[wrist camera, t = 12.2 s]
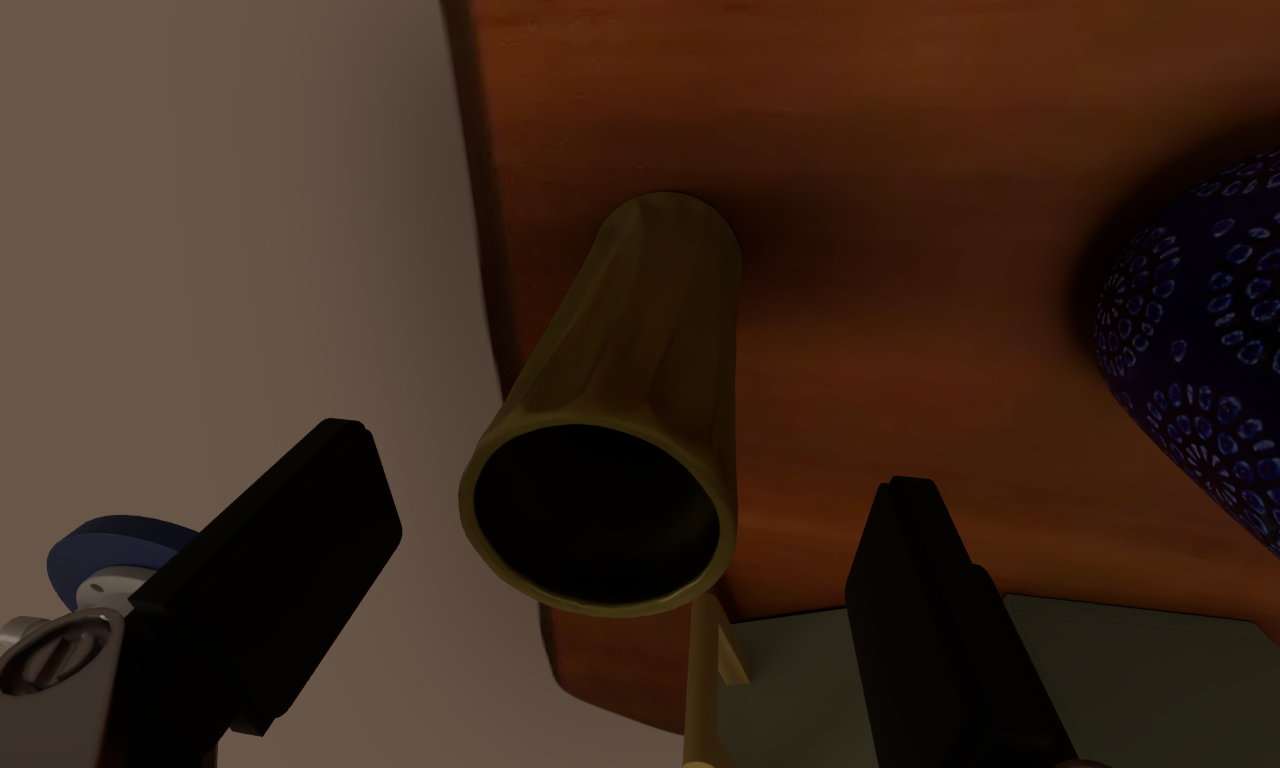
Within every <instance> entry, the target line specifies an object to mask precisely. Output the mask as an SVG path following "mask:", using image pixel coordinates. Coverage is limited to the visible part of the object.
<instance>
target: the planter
mask: <svg viewBox="0 0 1280 768" xmlns="http://www.w3.org/2000/svg"><path fill="white" fill-rule="evenodd" d="M1092 336H1093V346H1094V354H1095V359H1096V363H1097V366H1098V369H1099V371H1100V373H1101V376H1102V377H1103V379H1104V381H1105V383H1106V384H1107V386H1108V388H1109V390H1110V391H1111V393H1112V395H1113V396H1114V398H1115V399H1116V400H1117V402H1118V403H1119V404H1120V405H1121V406H1122V408H1123V409H1124V410H1125V411H1126V412H1127V413H1128V415H1129V416H1130V417H1131V418H1132V419H1133V420H1134V422H1135V423H1136V424H1137V425H1138V426H1139V427H1140V428H1141V429H1142V430H1143V431H1144V433H1145V434H1146V435H1147V436H1148V437H1149V438H1150V439H1151V440H1152V441H1153V442H1154V443H1155V444H1156V445H1157V446H1158V447H1159V448H1160V450H1161V451H1162V452H1163V453H1164V454H1165V455H1166V456H1168V457H1169V458H1170V459H1171V460H1172V461H1173V462H1174V463H1175V464H1176V465H1177V466H1178V467H1179V468H1180V469H1181V470H1182V471H1183V472H1184V473H1185V474H1186V475H1187V476H1189V477H1190V478H1191V479H1192V480H1193V481H1194V482H1195V483H1196V484H1197V485H1198V486H1199V487H1200V488H1201V489H1202V490H1203V491H1204V492H1205V493H1206V494H1207V495H1208V496H1209V497H1211V498H1212V499H1213V500H1214V501H1215V502H1216V503H1217V504H1218V505H1219V506H1220V507H1221V508H1222V509H1223V510H1224V511H1226V512H1227V513H1228V514H1229V515H1230V516H1231V517H1232V518H1233V519H1235V520H1236V521H1237V522H1238V523H1239V524H1240V525H1241V526H1242V527H1243V528H1245V529H1246V530H1247V531H1248V532H1249V533H1250V534H1251V535H1252V536H1254V537H1255V538H1256V539H1257V540H1258V541H1259V542H1260V543H1261V544H1262V545H1264V546H1265V547H1266V548H1267V549H1268V550H1269V551H1270V552H1271V553H1273V554H1274V555H1275V556H1276V557H1277V558H1278V559H1279V560H1280V145H1278V146H1275V147H1272V148H1270V149H1267V150H1264V151H1262V152H1259V153H1257V154H1254V155H1252V156H1249V157H1247V158H1245V159H1243V160H1241V161H1238V162H1236V163H1234V164H1232V165H1230V166H1228V167H1226V168H1224V169H1222V170H1220V171H1218V172H1216V173H1214V174H1212V175H1211V176H1209V177H1207V178H1205V179H1203V180H1202V181H1200V182H1198V183H1197V184H1195V185H1194V186H1192V187H1190V188H1189V189H1187V190H1186V191H1184V192H1183V193H1181V194H1180V195H1179V196H1177V197H1176V198H1174V199H1173V200H1172V201H1171V202H1169V203H1168V204H1167V205H1165V206H1164V207H1163V208H1162V209H1161V210H1159V211H1158V212H1157V213H1156V214H1155V215H1154V216H1153V217H1151V218H1150V219H1149V220H1148V221H1147V222H1146V223H1145V224H1144V225H1143V226H1142V227H1141V228H1140V229H1139V230H1138V231H1137V232H1136V234H1135V235H1134V236H1133V237H1132V238H1131V239H1130V240H1129V242H1128V243H1127V244H1126V245H1125V247H1124V248H1123V249H1122V251H1121V252H1120V253H1119V255H1118V256H1117V258H1116V259H1115V261H1114V262H1113V264H1112V266H1111V267H1110V269H1109V271H1108V273H1107V275H1106V277H1105V279H1104V281H1103V283H1102V286H1101V288H1100V291H1099V294H1098V298H1097V301H1096V306H1095V311H1094V317H1093V325H1092Z"/></svg>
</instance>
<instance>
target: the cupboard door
mask: <svg viewBox="0 0 1280 768" xmlns="http://www.w3.org/2000/svg"><path fill="white" fill-rule="evenodd" d="M683 768H879V766H878V761H877V756H876V751H875V746H874V742H873V737H872V732H871V727H870V722H869V717H868V712H867V707H866V702H865V697H864V692H863V687H862V682H861V677H860V673H859V668H858V663H857V658H856V653H855V648H854V643H853V638H852V633H851V628H850V623H849V618H848V613H847V609H846V608H844V609H837V610H830V611H823V612H816V613H808V614H801V615H794V616H787V617H780V618H772V619H765V620H758V621H751V622H744V623H736V624H730V622H729V620H728V618H727V616H726V614H725V612H724V611H723V609H722V607H721V605H720V603H719V601H718V599H717V597H716V596H715V595H713V594H710V593H705V592H704V593H703V594H701V595H700V596H699V597H697V598H696V599H694V600H693V601H692V613H691V630H690V647H689V664H688V682H687V699H686V716H685V733H684V750H683Z"/></svg>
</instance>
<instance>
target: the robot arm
mask: <svg viewBox="0 0 1280 768" xmlns="http://www.w3.org/2000/svg"><path fill="white" fill-rule="evenodd" d="M401 538H402V525H401V522H400V519H399V516H398V513H397V510H396V507H395V504H394V500H393V497H392V494H391V491H390V488H389V485H388V482H387V479H386V476H385V473H384V470H383V466H382V464H381V460H380V457H379V454H378V451H377V448H376V445H375V442H374V439H373V436H372V434H371V432H370V431H369V430H366V429H365V427H364V425H363V424H362V423H361V422H359V421H355V420H345V419H336V418H328V419H325V420H323V421H322V422H320V423H319V424H318V425H317V426H316V427H315V428H314V429H313V430H312V431H310V432H309V433H308V434H307V435H306V436H305V437H304V438H303V439H302V440H300V441H299V443H297V444H296V445H295V446H294V447H293V448H292V449H291V450H290V451H289V452H287V453H286V454H285V455H284V456H283V457H282V458H281V459H280V460H279V461H278V462H276V463H275V464H274V465H273V466H272V467H271V468H270V469H269V470H268V471H267V472H265V473H264V474H263V475H262V476H261V477H260V478H259V479H258V480H257V481H256V482H254V484H252V485H251V486H250V487H249V488H248V489H247V490H246V491H245V492H243V493H242V494H241V495H240V496H239V497H238V498H237V499H236V500H235V501H234V502H233V503H231V504H230V505H229V506H228V507H227V508H226V509H225V510H224V511H223V512H222V513H220V514H219V515H218V516H217V517H216V518H215V519H214V520H213V521H212V522H211V523H209V524H208V525H207V526H206V527H205V528H204V529H203V530H202V531H201V532H200V533H199V534H197V535H196V536H195V537H194V538H193V539H192V540H191V541H190V542H189V543H188V544H186V545H185V546H184V547H183V548H182V549H181V550H180V551H179V552H178V553H177V554H175V555H174V556H173V557H172V558H171V559H170V560H169V561H168V562H167V563H166V564H165V565H163V566H162V567H161V568H160V569H159V570H154V569H149V568H144V567H139V566H125V565H121V566H112V567H106V568H103V569H101V570H98V571H97V572H95V573H94V574H93V575H92V576H90V577H89V578H88V579H86V580H85V581H84V582H83V583H82V584H81V585H80V586H79V588H78V589H77V595H76V600H77V605H78V609H77V610H76V611H75V612H72V613H69V614H67V615H64V616H62V617H60V618H57V619H55V620H53V621H50V620H49V619H42V618H35V617H28V616H19V617H17V618H14V619H12V620H10V621H9V622H8V623H7V624H5V625H4V626H3V627H2V629H1V630H0V644H1V645H3V646H7V647H11V648H9V649H8V650H7V651H6V652H5V653H4V654H3V655H2V656H1V657H0V768H217V756H218V741H219V740H220V738H221V737H222V736H223V735H224V733H225V732H226V730H227V729H228V728H229V727H230V729H231V730H232V731H233V732H239V733H244V734H250V735H255V736H261V737H263V736H264V734H265V733H266V731H267V730H268V728H269V727H270V725H271V724H272V722H273V721H274V719H275V718H278V717H280V716H282V715H283V714H284V713H286V712H287V711H288V709H289V708H290V707H291V705H292V704H293V702H294V701H295V699H296V698H297V696H298V695H299V693H300V692H301V690H302V689H303V688H304V686H305V685H306V683H307V681H308V680H309V679H310V677H311V676H312V674H313V673H314V671H315V670H316V668H317V667H318V665H319V664H320V662H321V661H322V659H323V658H324V656H325V655H326V653H327V651H328V650H329V648H330V647H331V646H332V644H333V643H334V641H335V640H336V638H337V637H338V635H339V634H340V632H341V630H342V629H343V628H344V626H345V625H346V623H347V622H348V620H349V619H350V617H351V616H352V614H353V613H354V611H355V610H356V608H357V607H358V605H359V604H360V602H361V601H362V599H363V597H364V596H365V595H366V593H367V592H368V590H369V589H370V587H371V586H372V584H373V583H374V581H375V580H376V578H377V577H378V575H379V574H380V572H381V571H382V569H383V568H384V566H385V565H386V563H387V562H388V560H389V559H390V557H391V556H392V555H393V553H394V552H395V550H396V549H397V547H398V545H399V543H400V541H401ZM845 603H846V609H847V613H848V618H849V623H850V628H851V633H852V638H853V643H854V648H855V653H856V658H857V663H858V668H859V673H860V677H861V682H862V687H863V692H864V697H865V702H866V707H867V712H868V717H869V722H870V727H871V732H872V737H873V742H874V746H875V751H876V756H877V761H878V766H879V768H1113V767H1111V766H1108V765H1105V764H1102V763H1099V762H1096V761H1093V760H1086V759H1079V757H1078V755H1077V753H1076V751H1075V749H1074V747H1073V744H1072V742H1071V740H1070V738H1069V736H1068V734H1067V732H1066V730H1065V728H1064V726H1063V724H1062V722H1061V720H1060V718H1059V716H1058V714H1057V712H1056V710H1055V708H1054V706H1053V703H1052V701H1051V699H1050V697H1049V695H1048V693H1047V691H1046V689H1045V687H1044V685H1043V683H1042V681H1041V679H1040V677H1039V675H1038V673H1037V671H1036V669H1035V667H1034V664H1033V662H1032V660H1031V658H1030V656H1029V654H1028V652H1027V650H1026V648H1025V646H1024V644H1023V642H1022V640H1021V638H1020V636H1019V634H1018V632H1017V630H1016V628H1015V625H1014V623H1013V621H1012V619H1011V617H1010V615H1009V613H1008V611H1007V609H1006V607H1005V605H1004V603H1003V601H1002V599H1001V597H1000V595H999V593H998V591H997V589H996V586H995V584H994V582H993V580H992V579H991V577H990V575H989V574H988V572H987V571H986V570H985V569H984V568H983V567H982V566H980V565H977V564H972V562H971V560H970V558H969V556H968V553H967V551H966V549H965V547H964V545H963V543H962V540H961V538H960V536H959V534H958V532H957V530H956V528H955V525H954V523H953V521H952V519H951V517H950V515H949V512H948V510H947V508H946V506H945V504H944V502H943V499H942V497H941V495H940V493H939V491H938V489H937V487H936V485H935V483H934V482H933V481H932V480H930V479H923V478H914V477H904V476H894V477H893V478H892V479H891V481H890V483H889V484H888V483H881V484H880V485H879V487H878V490H877V493H876V496H875V499H874V502H873V505H872V508H871V510H870V513H869V516H868V519H867V522H866V525H865V528H864V531H863V534H862V537H861V540H860V543H859V546H858V549H857V552H856V555H855V558H854V561H853V564H852V567H851V570H850V573H849V576H848V579H847V582H846V586H845Z"/></svg>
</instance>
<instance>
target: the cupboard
mask: <svg viewBox="0 0 1280 768" xmlns="http://www.w3.org/2000/svg"><path fill="white" fill-rule="evenodd" d="M1002 601H1003V603H1004V605H1005V607H1006V609H1007V611H1008V613H1009V615H1010V617H1011V619H1012V621H1013V623H1014V625H1015V628H1016V630H1017V632H1018V634H1019V636H1020V638H1021V640H1022V642H1023V644H1024V646H1025V648H1026V650H1027V652H1028V654H1029V656H1030V658H1031V660H1032V662H1033V664H1034V667H1035V669H1036V671H1037V673H1038V675H1039V677H1040V679H1041V681H1042V683H1043V685H1044V687H1045V689H1046V691H1047V693H1048V695H1049V697H1050V699H1051V701H1052V703H1053V706H1054V708H1055V710H1056V712H1057V714H1058V716H1059V718H1060V720H1061V722H1062V724H1063V726H1064V728H1065V730H1066V732H1067V734H1068V736H1069V738H1070V740H1071V742H1072V744H1073V747H1074V749H1075V751H1076V753H1077V755H1078V757H1079V759H1086V760H1093V761H1096V762H1099V763H1102V764H1105V765H1108V766H1111V767H1113V768H1280V649H1279V648H1278V647H1277V646H1276V645H1275V644H1274V643H1273V642H1272V641H1271V640H1269V638H1268V637H1267V636H1266V635H1265V634H1264V633H1263V631H1262V630H1261V629H1260V628H1259V627H1258V626H1257V625H1256V624H1255V623H1254V622H1249V621H1241V620H1232V619H1223V618H1214V617H1206V616H1197V615H1188V614H1180V613H1171V612H1162V611H1153V610H1145V609H1136V608H1127V607H1118V606H1110V605H1101V604H1092V603H1084V602H1075V601H1066V600H1057V599H1049V598H1040V597H1031V596H1022V595H1014V594H1006V595H1005V597H1004V598H1003V600H1002Z"/></svg>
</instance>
